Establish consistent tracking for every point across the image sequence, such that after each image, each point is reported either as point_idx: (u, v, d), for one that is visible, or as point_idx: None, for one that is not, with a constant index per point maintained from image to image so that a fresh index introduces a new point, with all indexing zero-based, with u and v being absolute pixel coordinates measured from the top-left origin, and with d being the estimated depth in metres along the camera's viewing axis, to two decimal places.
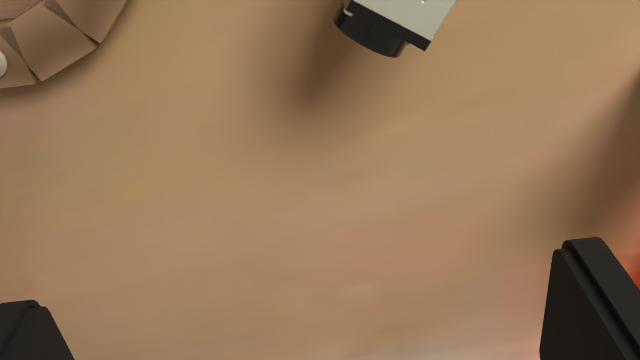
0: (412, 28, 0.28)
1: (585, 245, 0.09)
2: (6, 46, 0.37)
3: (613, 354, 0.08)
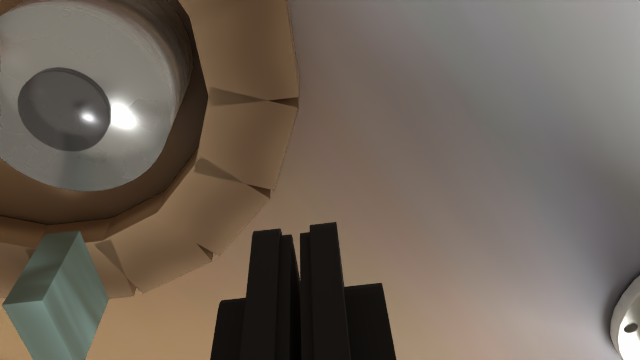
0: None
1: (319, 229, 0.10)
2: None
3: None
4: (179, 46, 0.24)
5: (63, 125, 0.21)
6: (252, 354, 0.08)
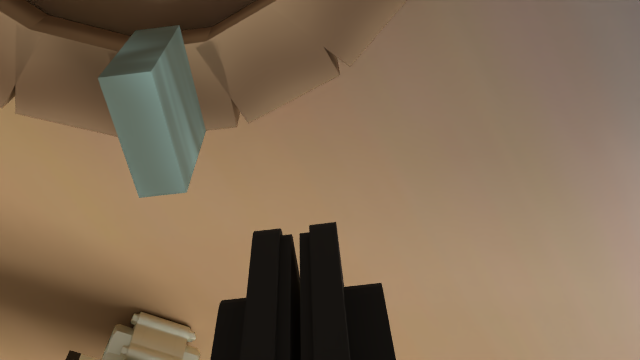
0: None
1: (318, 229, 0.10)
2: None
3: None
4: None
5: None
6: (253, 354, 0.08)
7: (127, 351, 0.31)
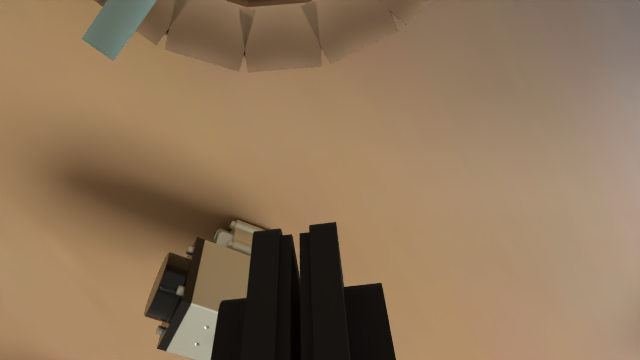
0: (174, 340, 0.36)
1: (318, 229, 0.10)
2: None
3: None
4: None
5: None
6: (252, 354, 0.08)
7: (233, 244, 0.41)
